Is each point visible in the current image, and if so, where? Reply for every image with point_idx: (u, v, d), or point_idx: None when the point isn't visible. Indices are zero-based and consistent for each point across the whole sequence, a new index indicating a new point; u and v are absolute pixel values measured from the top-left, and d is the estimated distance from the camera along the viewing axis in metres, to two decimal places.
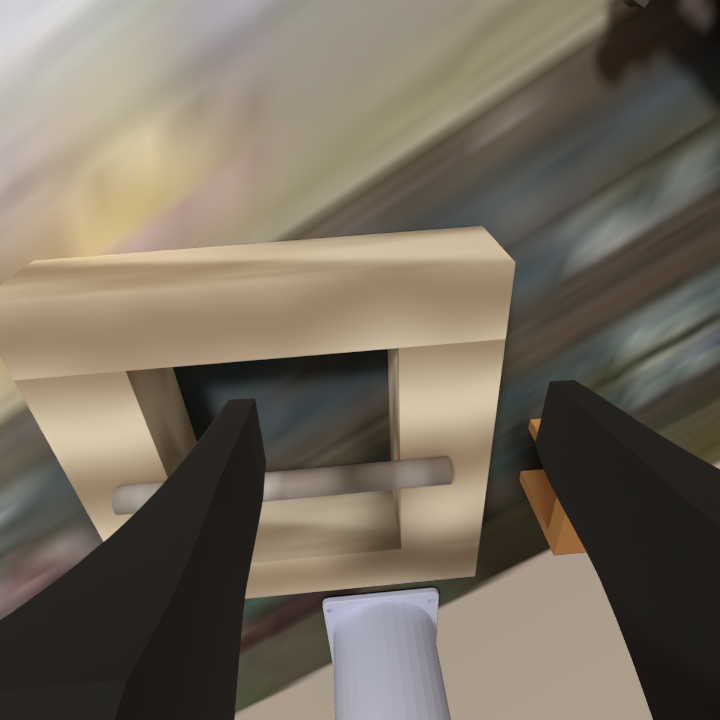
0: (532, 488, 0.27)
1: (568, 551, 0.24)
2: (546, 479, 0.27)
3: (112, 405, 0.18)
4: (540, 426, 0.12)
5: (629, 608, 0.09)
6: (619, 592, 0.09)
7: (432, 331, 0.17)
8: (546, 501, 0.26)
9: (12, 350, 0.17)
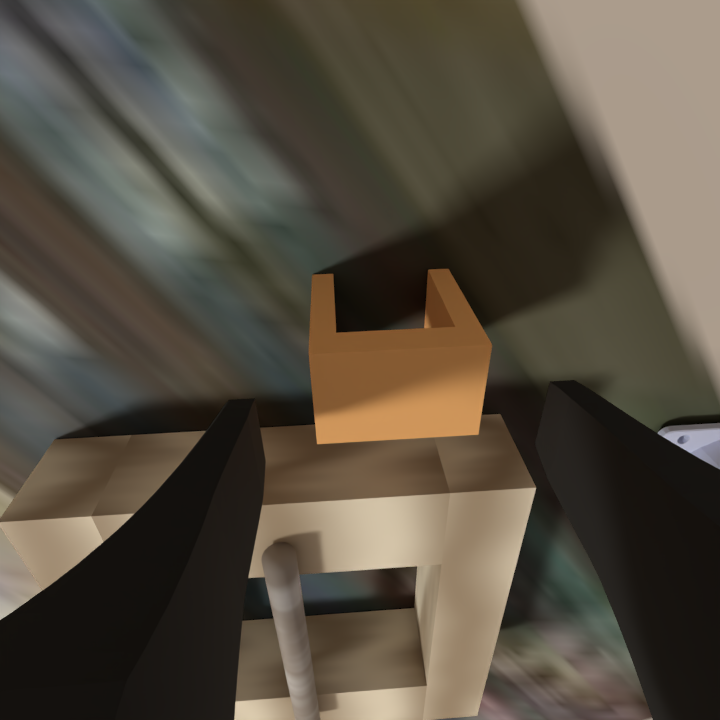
0: None
1: (473, 416, 0.13)
2: (429, 327, 0.17)
3: None
4: (540, 426, 0.12)
5: (629, 608, 0.09)
6: (619, 592, 0.09)
7: None
8: None
9: None
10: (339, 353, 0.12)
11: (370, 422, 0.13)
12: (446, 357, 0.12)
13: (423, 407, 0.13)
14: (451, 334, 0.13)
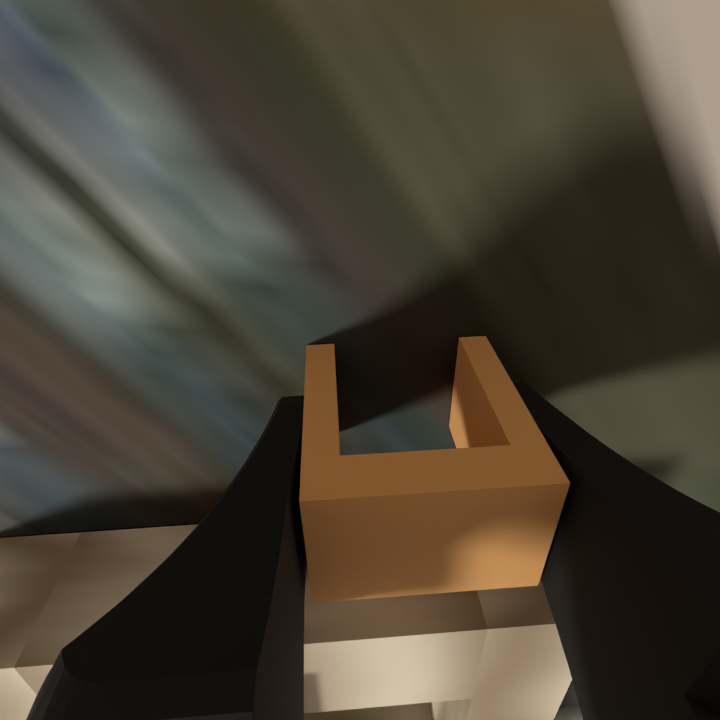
0: None
1: (533, 566, 0.09)
2: (459, 411, 0.13)
3: None
4: None
5: (565, 613, 0.09)
6: (557, 597, 0.09)
7: None
8: None
9: None
10: (345, 499, 0.08)
11: (388, 577, 0.09)
12: (502, 499, 0.08)
13: (464, 558, 0.09)
14: (507, 461, 0.09)
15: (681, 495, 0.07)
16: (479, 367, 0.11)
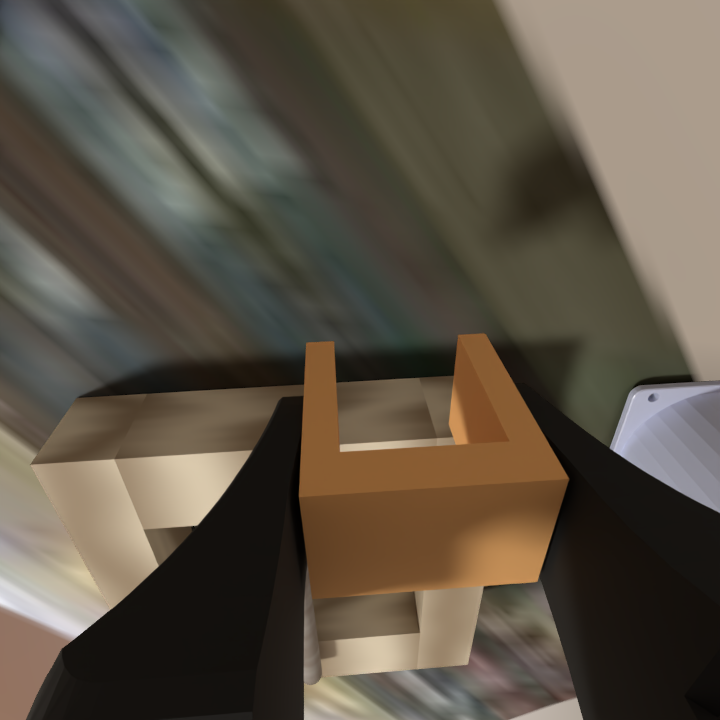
0: None
1: (532, 562, 0.09)
2: (459, 408, 0.13)
3: None
4: None
5: (565, 613, 0.09)
6: (557, 597, 0.09)
7: (120, 510, 0.19)
8: None
9: None
10: (344, 495, 0.08)
11: (387, 573, 0.09)
12: (501, 495, 0.08)
13: (463, 554, 0.09)
14: (506, 457, 0.09)
15: (681, 495, 0.07)
16: (478, 364, 0.11)
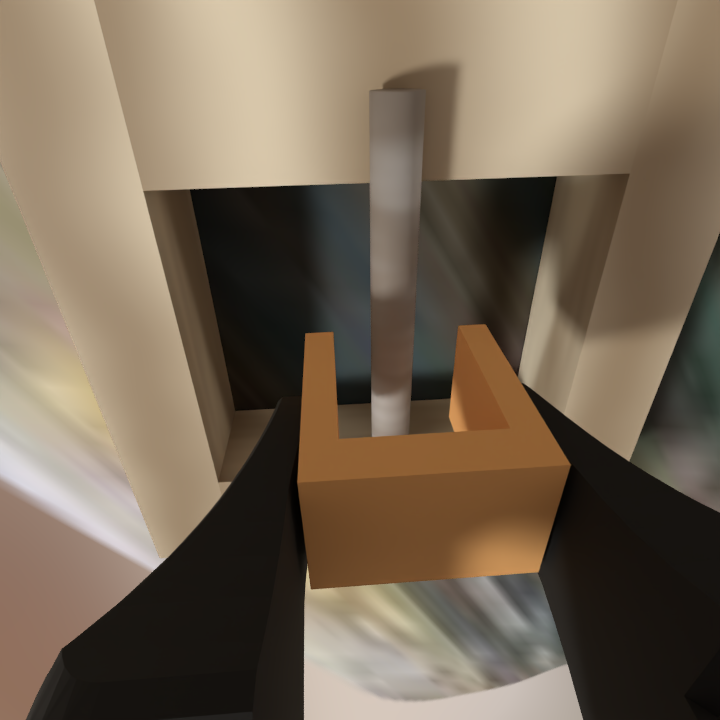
0: None
1: (534, 551, 0.09)
2: (459, 400, 0.13)
3: None
4: None
5: (565, 613, 0.09)
6: (557, 597, 0.09)
7: (102, 135, 0.11)
8: None
9: None
10: (343, 481, 0.08)
11: (388, 562, 0.09)
12: (501, 481, 0.08)
13: (464, 543, 0.09)
14: (507, 443, 0.09)
15: (681, 495, 0.07)
16: (479, 354, 0.11)
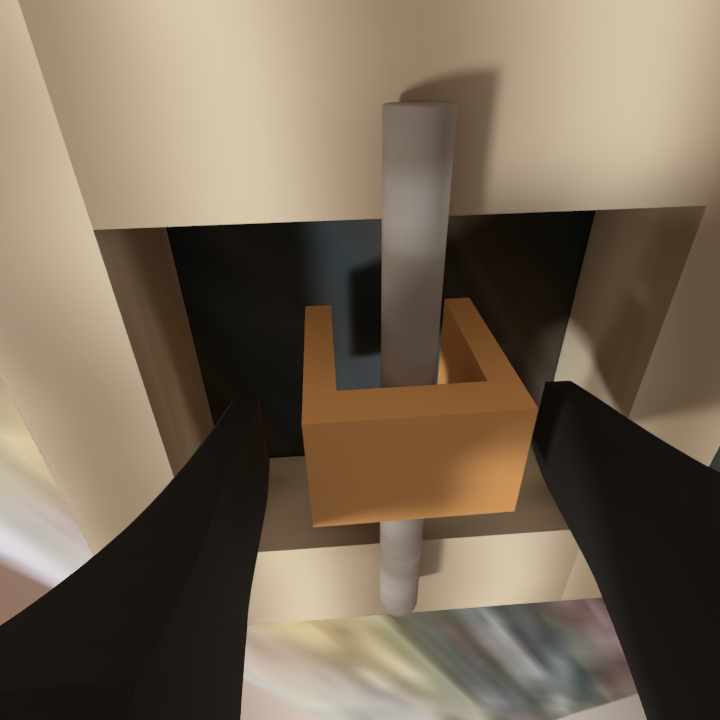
0: None
1: (509, 491, 0.11)
2: (446, 367, 0.14)
3: None
4: (536, 426, 0.12)
5: (624, 608, 0.09)
6: (614, 592, 0.09)
7: (36, 161, 0.08)
8: None
9: None
10: (341, 423, 0.09)
11: (381, 502, 0.10)
12: (479, 424, 0.09)
13: (447, 482, 0.10)
14: (484, 393, 0.10)
15: None
16: (462, 322, 0.12)
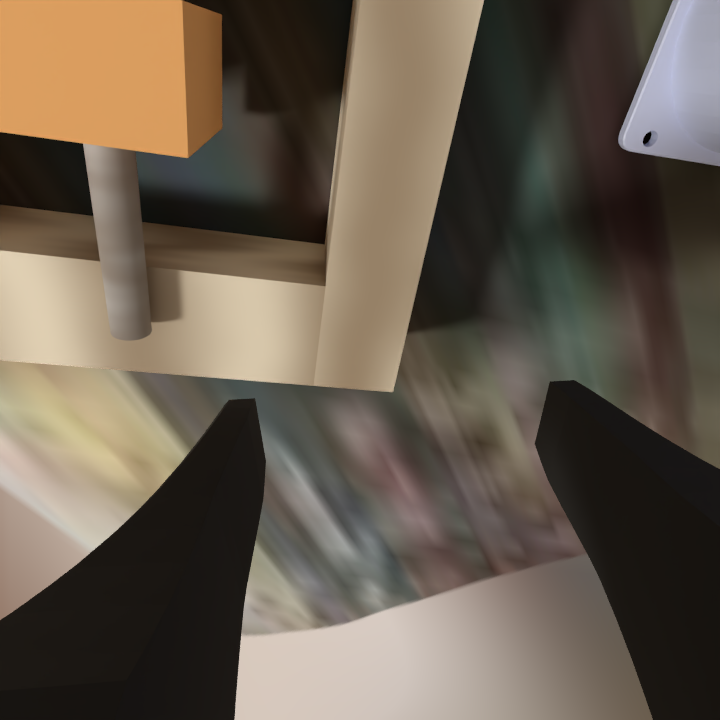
0: None
1: (176, 124, 0.11)
2: None
3: None
4: (540, 426, 0.12)
5: (629, 608, 0.09)
6: (619, 592, 0.09)
7: None
8: None
9: None
10: None
11: (39, 105, 0.10)
12: (125, 9, 0.10)
13: (107, 93, 0.10)
14: None
15: None
16: None
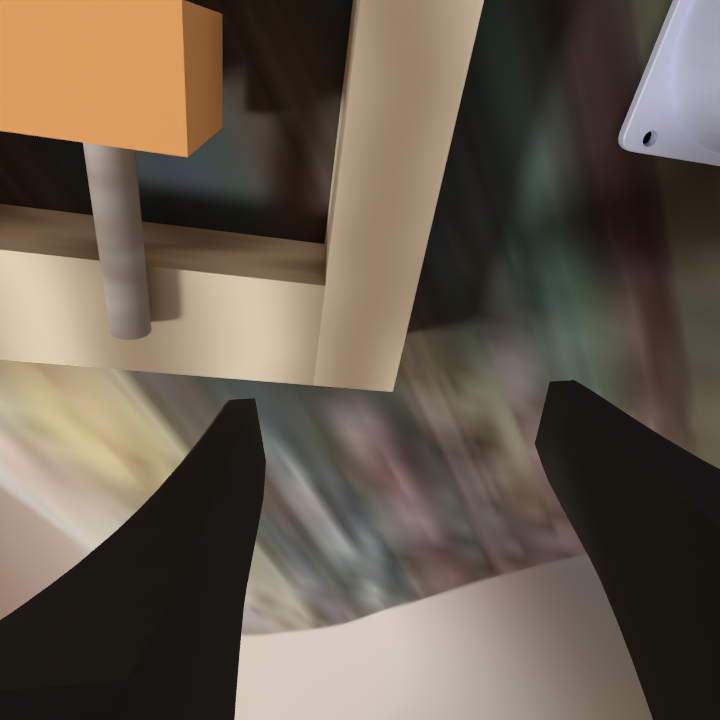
0: None
1: (176, 123, 0.11)
2: None
3: None
4: (540, 426, 0.12)
5: (629, 608, 0.09)
6: (619, 592, 0.09)
7: None
8: None
9: None
10: None
11: (39, 103, 0.10)
12: (124, 8, 0.10)
13: (107, 91, 0.10)
14: None
15: None
16: None
